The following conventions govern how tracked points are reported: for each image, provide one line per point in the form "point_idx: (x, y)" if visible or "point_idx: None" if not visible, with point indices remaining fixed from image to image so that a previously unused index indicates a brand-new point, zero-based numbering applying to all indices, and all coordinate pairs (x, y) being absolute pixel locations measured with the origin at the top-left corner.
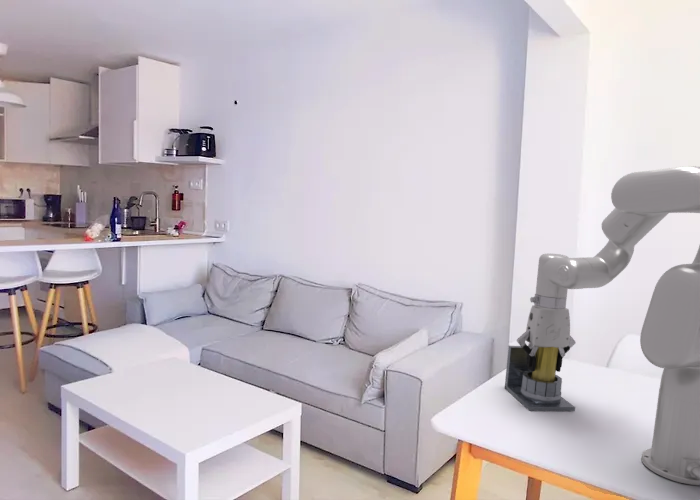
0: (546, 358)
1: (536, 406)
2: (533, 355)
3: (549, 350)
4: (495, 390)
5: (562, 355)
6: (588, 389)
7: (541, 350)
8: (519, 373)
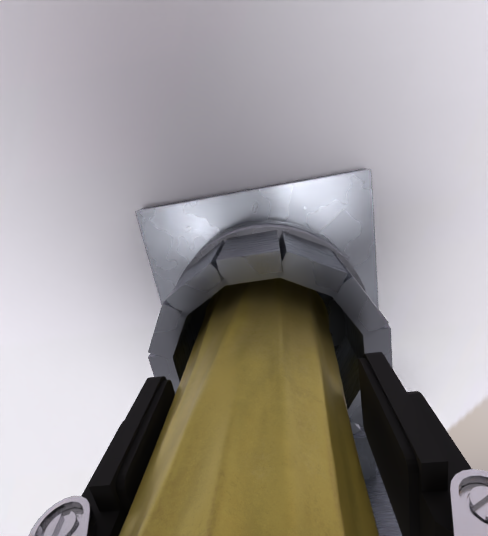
0: (289, 435)
1: (331, 185)
2: (458, 482)
3: None
4: (432, 377)
5: (70, 512)
6: (36, 429)
7: None
8: None
